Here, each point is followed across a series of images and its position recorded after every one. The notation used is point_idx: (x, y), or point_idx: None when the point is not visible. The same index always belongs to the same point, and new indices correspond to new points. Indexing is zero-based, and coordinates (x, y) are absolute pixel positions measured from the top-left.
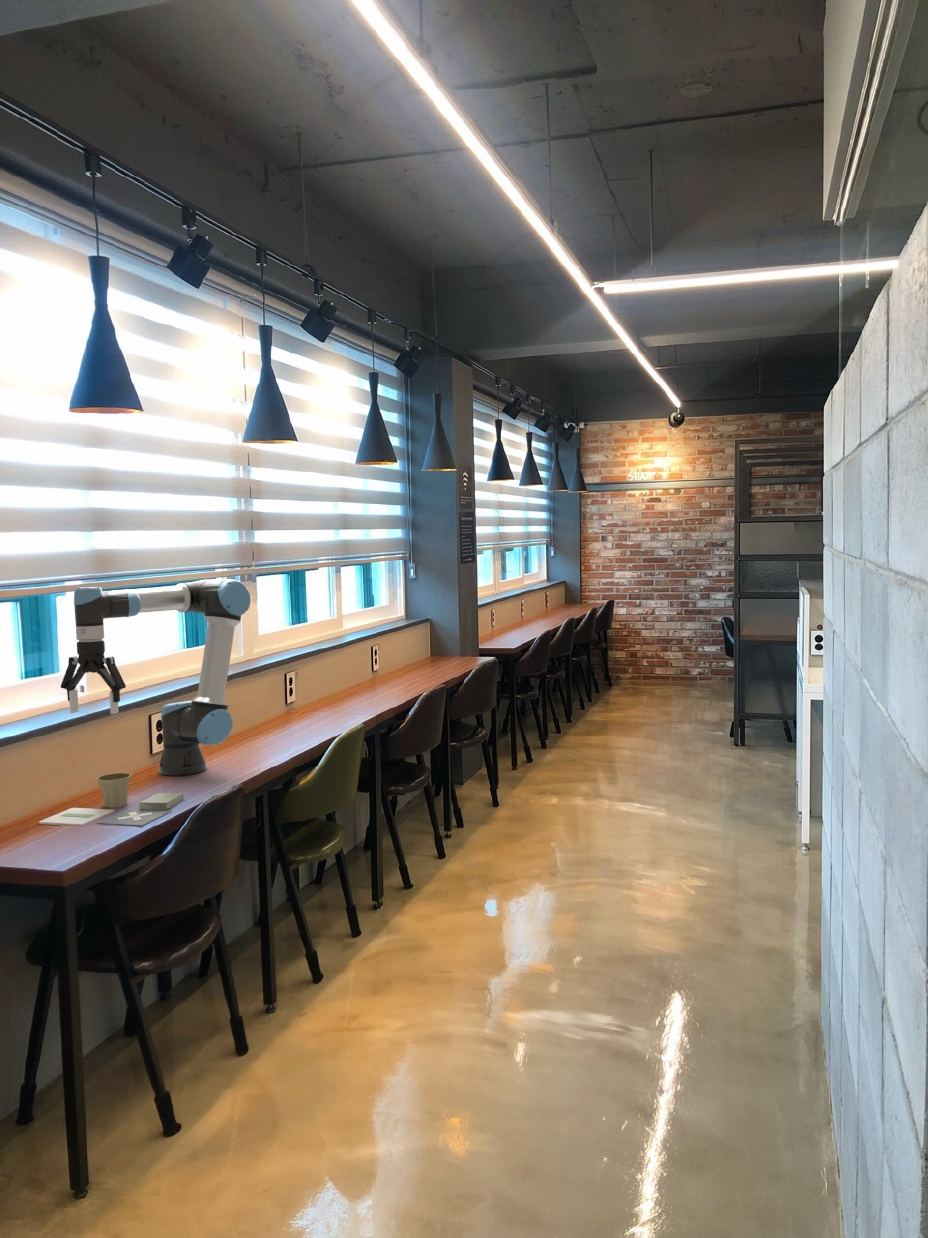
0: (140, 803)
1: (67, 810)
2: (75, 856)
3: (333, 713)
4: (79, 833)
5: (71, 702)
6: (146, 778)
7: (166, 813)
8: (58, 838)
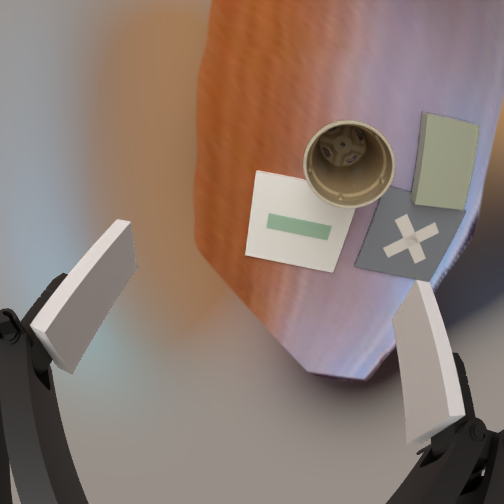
0: (416, 203)
1: (257, 192)
2: (364, 356)
3: None
4: (340, 297)
5: (104, 312)
6: None
7: (459, 225)
8: (318, 312)
